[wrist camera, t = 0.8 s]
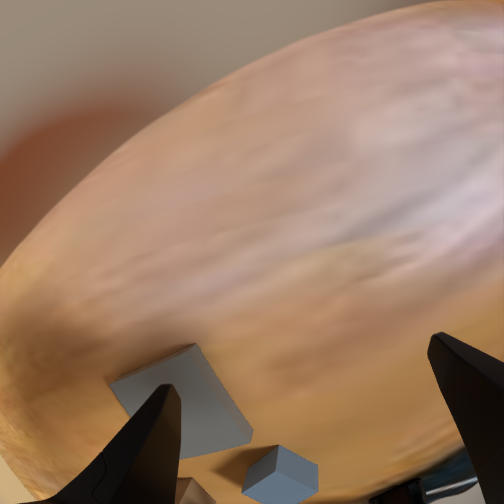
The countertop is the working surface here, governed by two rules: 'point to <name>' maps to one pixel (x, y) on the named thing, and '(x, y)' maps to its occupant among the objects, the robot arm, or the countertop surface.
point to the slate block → (281, 478)
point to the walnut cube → (191, 493)
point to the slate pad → (189, 401)
